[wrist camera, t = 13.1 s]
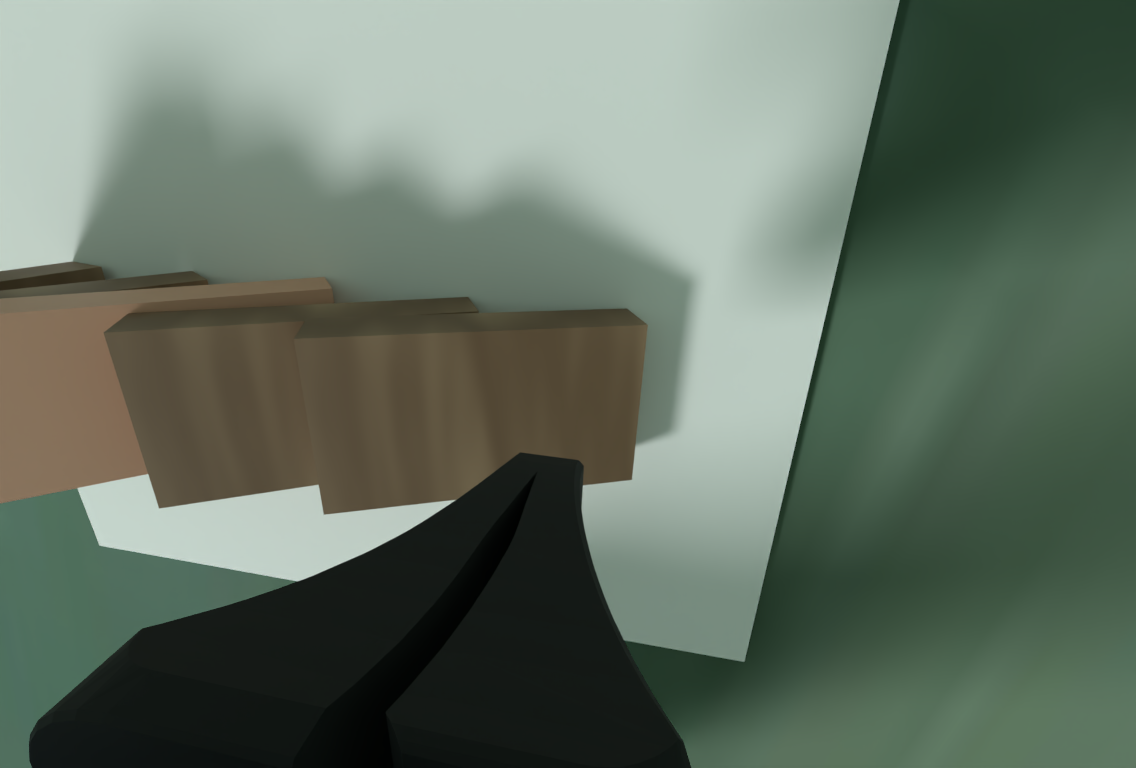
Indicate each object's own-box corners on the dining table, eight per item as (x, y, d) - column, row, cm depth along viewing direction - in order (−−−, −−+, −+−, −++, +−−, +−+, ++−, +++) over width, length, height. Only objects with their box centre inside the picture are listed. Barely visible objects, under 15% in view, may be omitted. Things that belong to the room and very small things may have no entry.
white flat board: (903, -36, 12) (908, -40, 11) (743, 655, 20) (744, 662, 20) (-108, -23, 16) (-122, -26, 16) (106, 541, 24) (99, 545, 24)
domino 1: (332, 288, 16) (-90, 320, 12) (351, 433, 18) (-5, 504, 14) (324, 277, 17) (-59, 302, 13) (343, 413, 19) (15, 472, 15)
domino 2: (478, 311, 15) (103, 332, 12) (482, 460, 17) (159, 508, 14) (468, 297, 16) (128, 313, 13) (472, 436, 18) (176, 476, 15)
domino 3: (647, 324, 14) (293, 338, 12) (631, 479, 16) (323, 514, 14) (626, 308, 16) (306, 318, 13) (614, 452, 17) (332, 480, 15)
